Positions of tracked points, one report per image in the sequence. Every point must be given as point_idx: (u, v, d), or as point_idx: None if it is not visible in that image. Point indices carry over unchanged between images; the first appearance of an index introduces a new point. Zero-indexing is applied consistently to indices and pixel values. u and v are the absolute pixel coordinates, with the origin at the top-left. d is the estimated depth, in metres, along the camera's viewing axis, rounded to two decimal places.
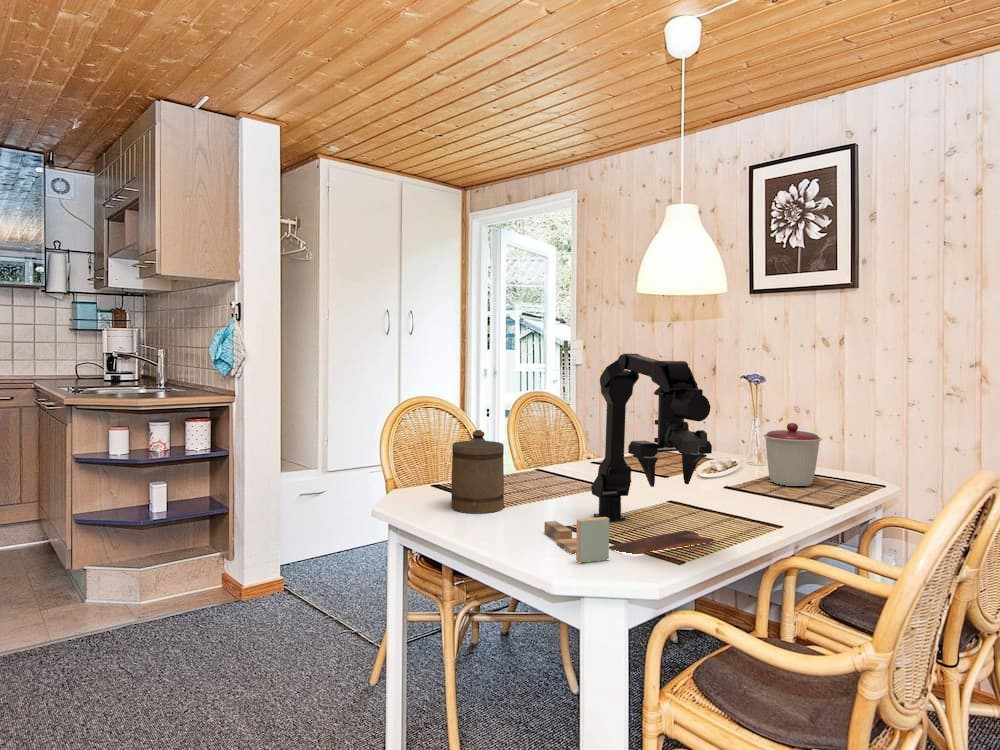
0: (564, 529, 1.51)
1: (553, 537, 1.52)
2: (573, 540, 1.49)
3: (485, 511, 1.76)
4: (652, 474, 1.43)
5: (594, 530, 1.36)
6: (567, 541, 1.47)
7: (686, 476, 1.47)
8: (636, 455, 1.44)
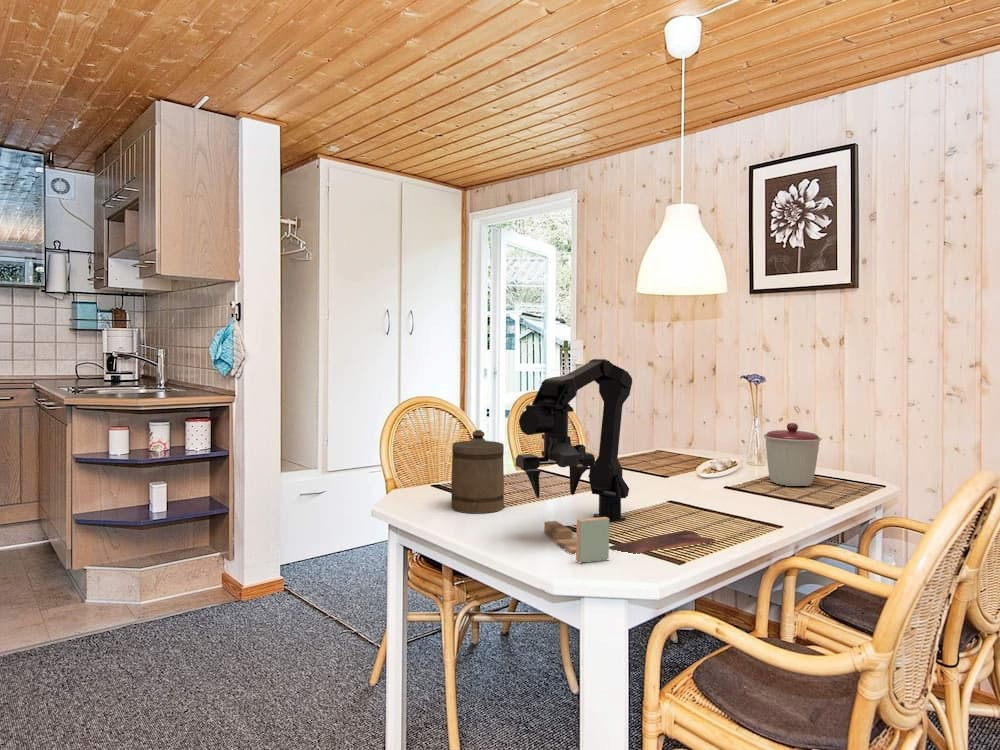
0: (564, 529, 1.51)
1: (553, 537, 1.52)
2: (573, 540, 1.49)
3: (485, 511, 1.76)
4: (536, 485, 1.52)
5: (594, 530, 1.36)
6: (567, 541, 1.47)
7: (572, 487, 1.57)
8: None
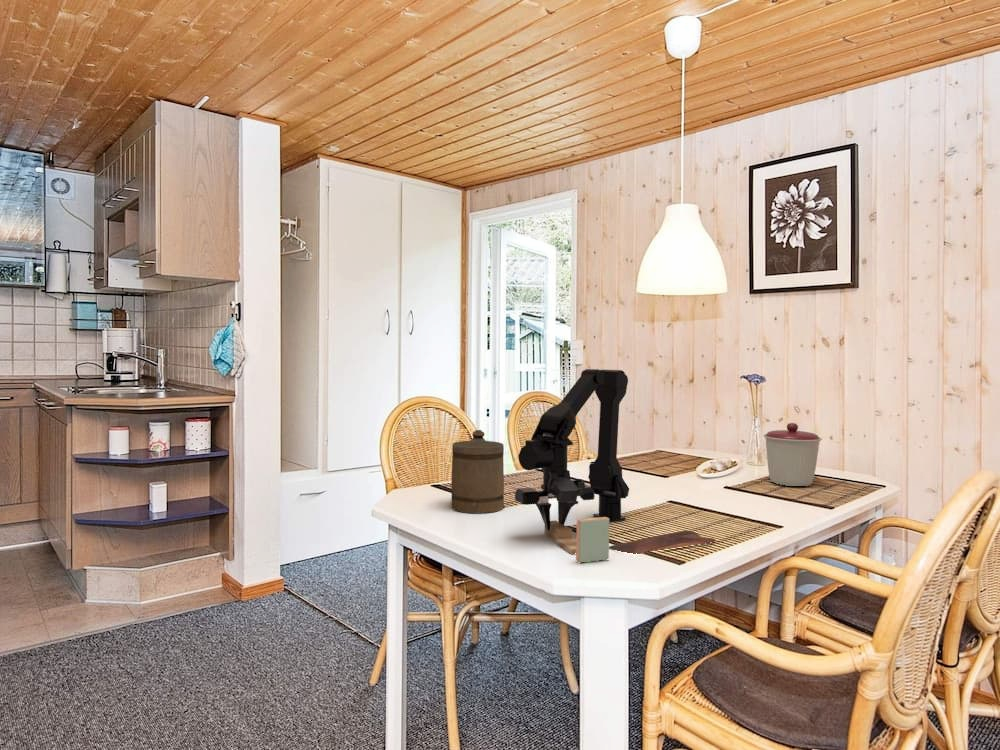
0: (564, 528, 1.51)
1: (553, 537, 1.52)
2: (573, 539, 1.49)
3: (485, 511, 1.76)
4: (547, 519, 1.54)
5: (594, 530, 1.36)
6: (567, 540, 1.47)
7: (560, 522, 1.56)
8: None
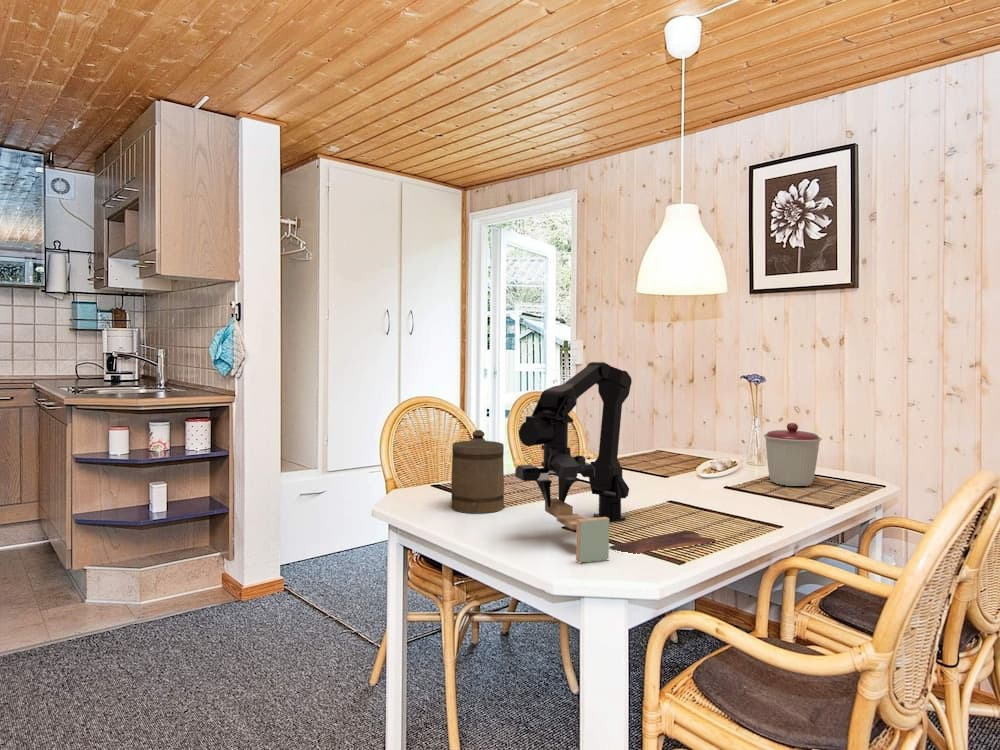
0: (565, 505, 1.51)
1: (554, 513, 1.52)
2: (573, 515, 1.48)
3: (485, 511, 1.76)
4: (547, 496, 1.54)
5: (594, 530, 1.36)
6: (568, 516, 1.47)
7: (561, 499, 1.56)
8: None
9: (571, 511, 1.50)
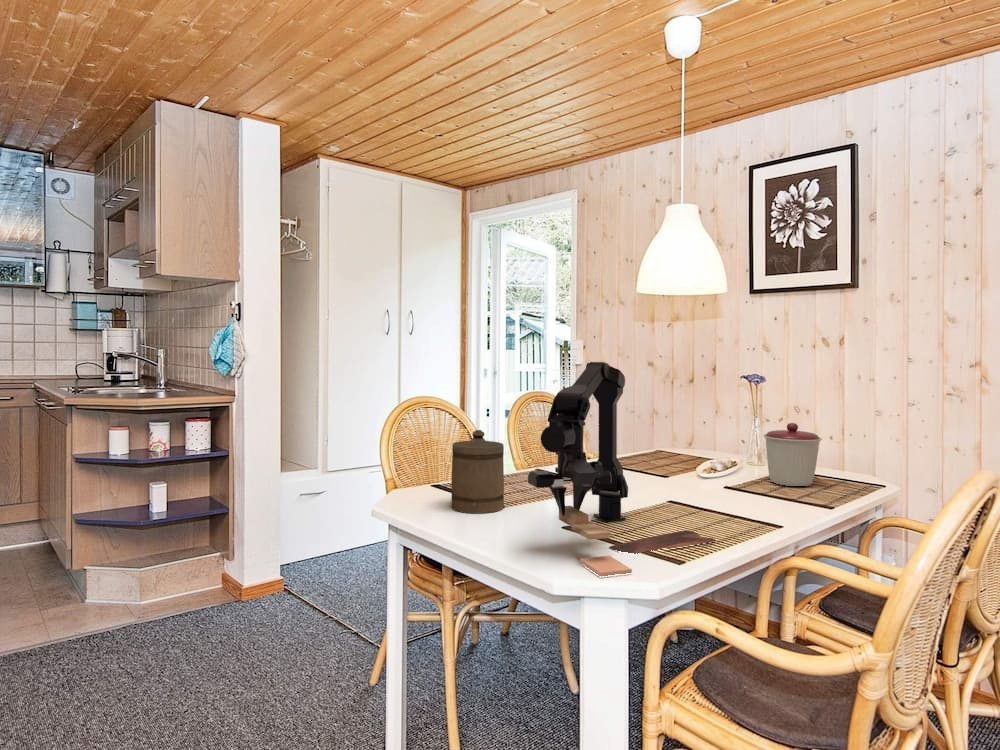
0: (580, 513, 1.43)
1: (568, 522, 1.44)
2: (590, 524, 1.40)
3: (485, 511, 1.76)
4: (562, 503, 1.46)
5: None
6: (583, 525, 1.39)
7: (575, 507, 1.48)
8: None
9: (587, 520, 1.42)
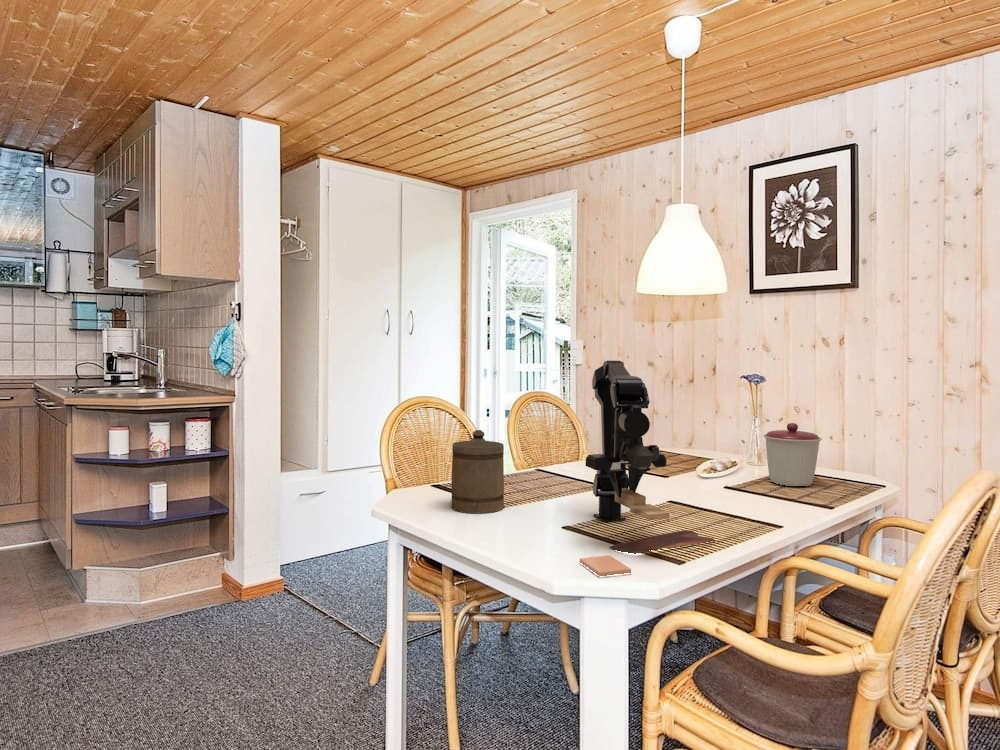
0: (637, 495, 1.48)
1: (625, 504, 1.49)
2: (647, 506, 1.45)
3: (485, 511, 1.76)
4: (619, 485, 1.51)
5: None
6: (641, 507, 1.44)
7: (631, 489, 1.53)
8: None
9: (644, 501, 1.47)
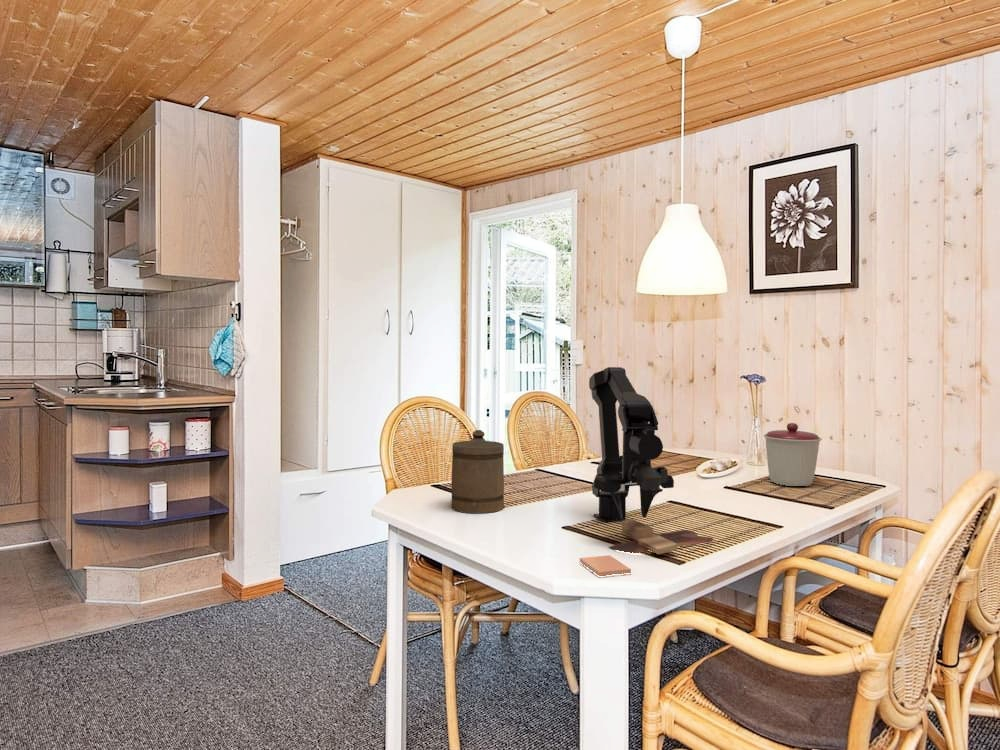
0: (644, 527, 1.49)
1: (633, 536, 1.51)
2: (655, 537, 1.47)
3: (485, 511, 1.76)
4: (623, 507, 1.51)
5: None
6: (650, 539, 1.46)
7: (643, 510, 1.54)
8: None
9: (651, 533, 1.48)
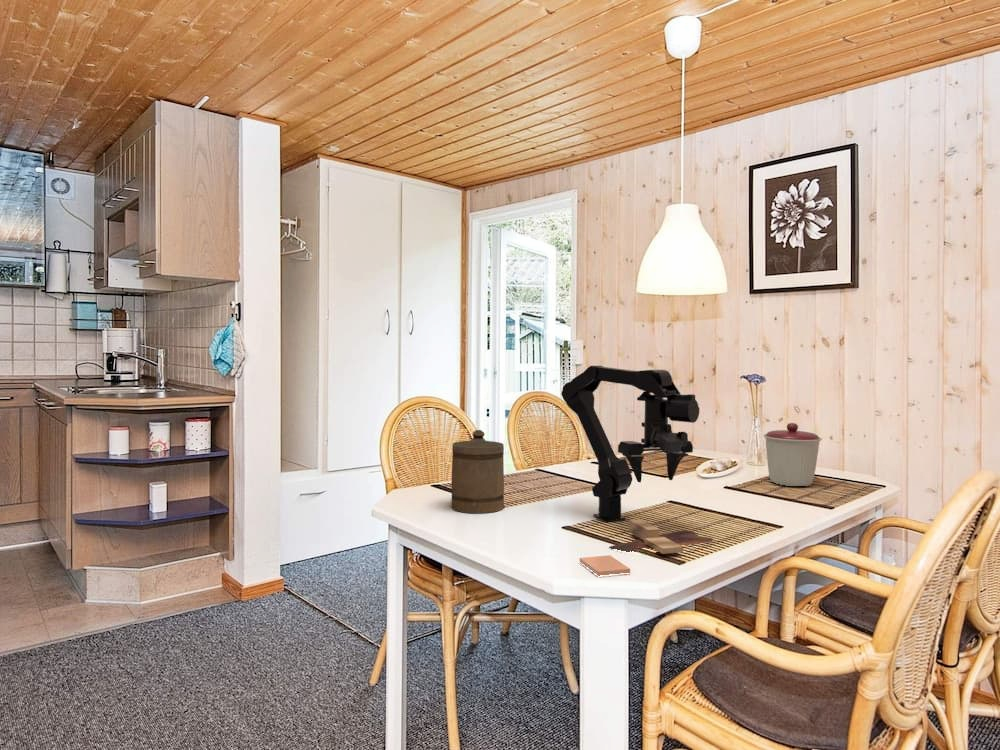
0: (652, 527, 1.50)
1: (640, 535, 1.51)
2: (661, 538, 1.47)
3: (485, 511, 1.76)
4: (639, 471, 1.60)
5: None
6: (656, 539, 1.46)
7: (670, 473, 1.64)
8: (625, 454, 1.61)
9: (658, 534, 1.48)
